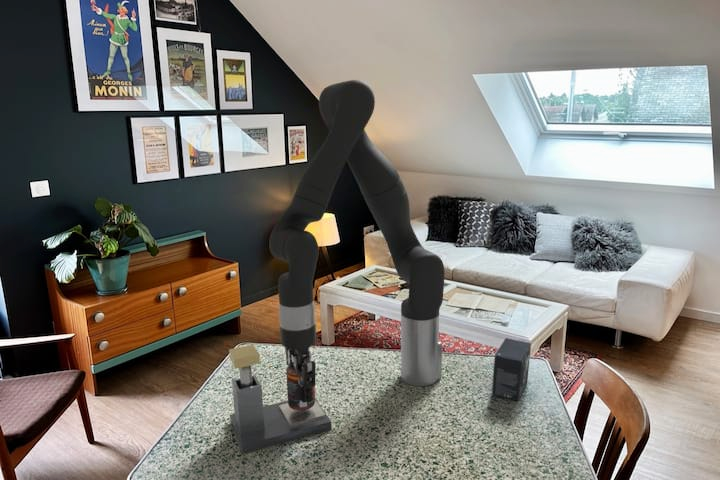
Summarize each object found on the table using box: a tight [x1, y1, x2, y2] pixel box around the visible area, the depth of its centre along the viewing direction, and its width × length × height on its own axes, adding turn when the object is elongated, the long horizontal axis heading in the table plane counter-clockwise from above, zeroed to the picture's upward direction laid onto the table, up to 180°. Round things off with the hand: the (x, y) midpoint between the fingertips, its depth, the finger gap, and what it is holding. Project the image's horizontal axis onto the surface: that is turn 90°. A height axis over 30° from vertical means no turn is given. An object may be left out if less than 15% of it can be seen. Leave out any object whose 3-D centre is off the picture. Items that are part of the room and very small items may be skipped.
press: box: [229, 374, 332, 455], centre depth 117 cm, size 19×12×12 cm, turn 114°
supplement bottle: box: [285, 357, 316, 411], centre depth 118 cm, size 6×6×11 cm
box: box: [491, 337, 532, 402], centre depth 130 cm, size 11×7×10 cm, turn 152°
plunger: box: [228, 344, 261, 389], centre depth 112 cm, size 5×5×12 cm
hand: (301, 393), depth 119 cm, fingers closed on supplement bottle, 6 cm apart
